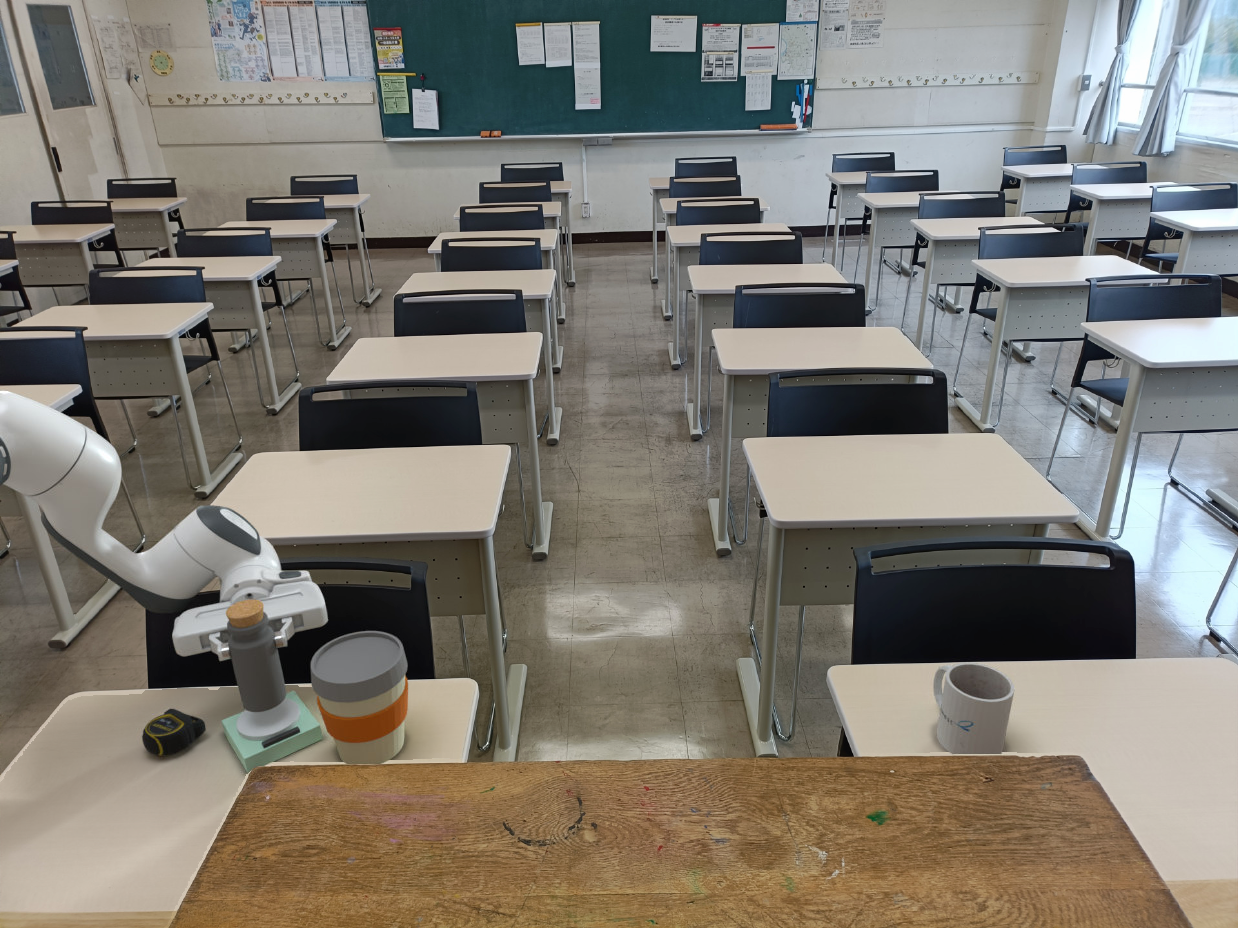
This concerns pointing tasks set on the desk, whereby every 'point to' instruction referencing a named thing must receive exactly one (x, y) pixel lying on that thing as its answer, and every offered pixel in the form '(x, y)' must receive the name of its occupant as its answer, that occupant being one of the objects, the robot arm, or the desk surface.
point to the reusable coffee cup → (362, 695)
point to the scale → (271, 732)
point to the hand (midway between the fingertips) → (253, 649)
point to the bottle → (255, 657)
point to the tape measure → (171, 732)
